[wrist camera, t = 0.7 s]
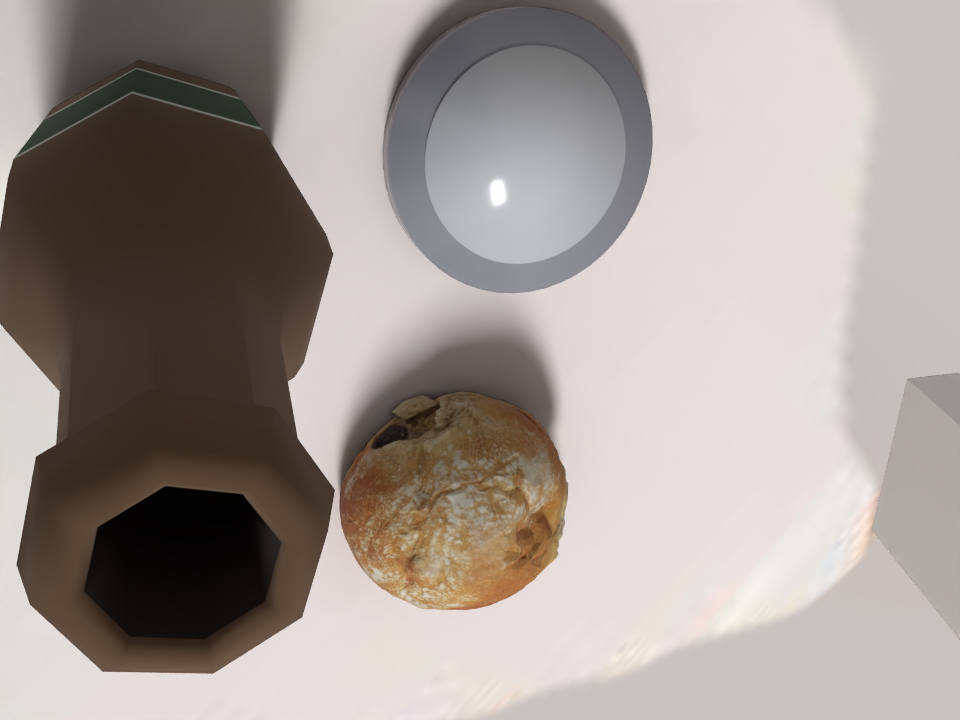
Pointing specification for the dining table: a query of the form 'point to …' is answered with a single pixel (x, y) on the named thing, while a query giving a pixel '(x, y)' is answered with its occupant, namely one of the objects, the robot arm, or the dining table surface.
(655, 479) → the dining table surface
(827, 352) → the dining table surface
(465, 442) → the bread roll
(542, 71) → the dish
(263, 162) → the beer bottle
